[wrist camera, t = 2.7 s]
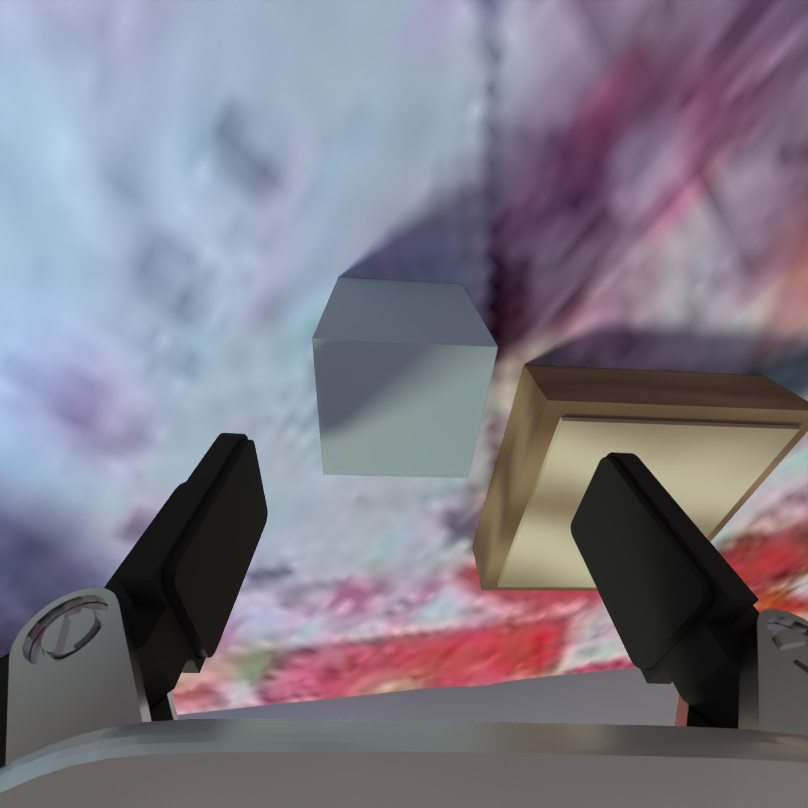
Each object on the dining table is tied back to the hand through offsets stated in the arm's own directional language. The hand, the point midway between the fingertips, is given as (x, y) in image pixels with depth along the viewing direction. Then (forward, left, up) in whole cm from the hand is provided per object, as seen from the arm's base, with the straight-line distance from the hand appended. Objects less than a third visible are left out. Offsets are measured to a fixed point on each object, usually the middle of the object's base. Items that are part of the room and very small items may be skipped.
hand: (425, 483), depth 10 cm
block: (-1, -1, -8) cm, 8 cm away
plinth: (+7, +11, -8) cm, 16 cm away
